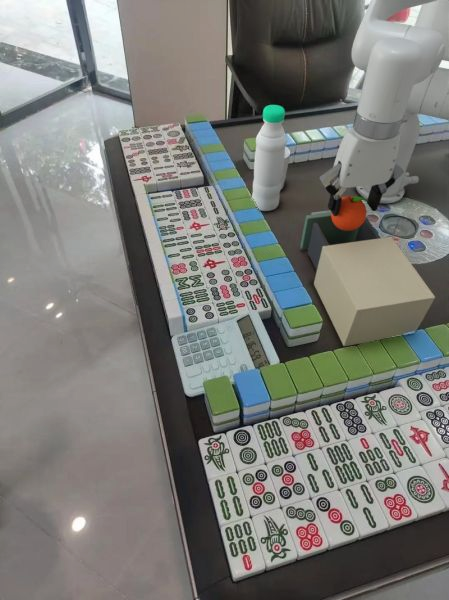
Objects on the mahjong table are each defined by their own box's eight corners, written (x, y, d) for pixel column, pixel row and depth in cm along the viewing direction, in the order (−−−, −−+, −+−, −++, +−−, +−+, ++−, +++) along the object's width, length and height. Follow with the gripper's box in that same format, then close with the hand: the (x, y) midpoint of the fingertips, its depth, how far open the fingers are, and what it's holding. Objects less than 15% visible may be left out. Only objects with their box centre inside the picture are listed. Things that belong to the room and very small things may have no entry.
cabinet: (313, 283, 93) (322, 246, 85) (377, 274, 95) (391, 236, 87) (343, 346, 82) (357, 310, 74) (414, 334, 84) (435, 297, 76)
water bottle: (276, 214, 109) (289, 117, 90) (249, 210, 110) (255, 113, 91) (280, 198, 113) (292, 102, 95) (253, 194, 114) (260, 99, 95)
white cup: (255, 177, 120) (257, 144, 112) (283, 176, 120) (287, 142, 113) (258, 194, 114) (261, 160, 107) (288, 192, 115) (293, 159, 107)
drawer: (294, 234, 102) (299, 203, 95) (347, 227, 104) (356, 196, 97) (324, 295, 89) (332, 264, 83) (384, 285, 91) (397, 254, 85)
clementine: (353, 214, 93) (362, 185, 88) (372, 233, 88) (382, 203, 83) (321, 221, 90) (328, 191, 85) (338, 240, 86) (347, 210, 81)
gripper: (412, 109, 76) (384, 193, 90) (320, 118, 74) (304, 203, 87) (435, 129, 71) (401, 215, 85) (336, 139, 69) (317, 226, 82)
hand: (352, 209), depth 86 cm, fingers closed on clementine, 7 cm apart
